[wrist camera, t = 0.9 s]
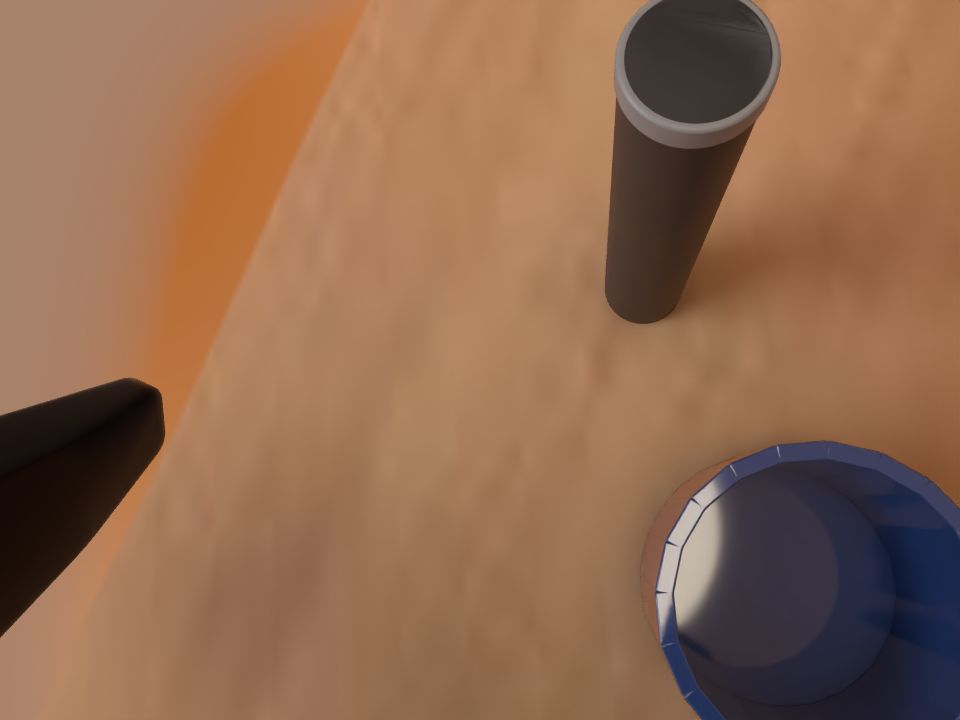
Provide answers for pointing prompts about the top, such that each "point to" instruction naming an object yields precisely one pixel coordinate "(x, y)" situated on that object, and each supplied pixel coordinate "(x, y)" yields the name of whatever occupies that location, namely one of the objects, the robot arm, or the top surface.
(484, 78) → the top surface
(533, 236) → the top surface
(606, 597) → the top surface
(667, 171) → the gray cylinder
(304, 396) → the top surface
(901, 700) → the blue cup
